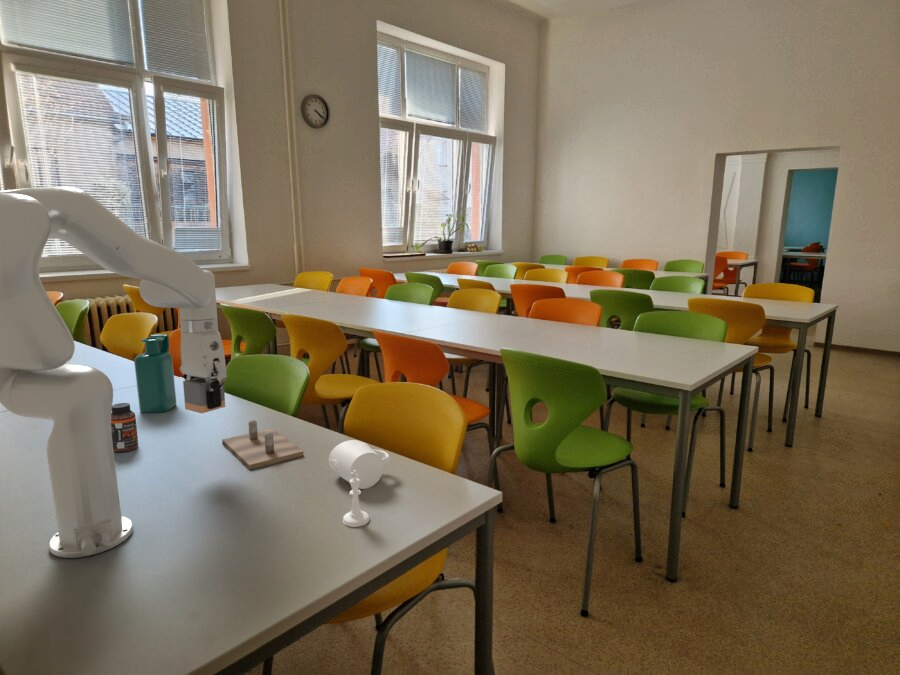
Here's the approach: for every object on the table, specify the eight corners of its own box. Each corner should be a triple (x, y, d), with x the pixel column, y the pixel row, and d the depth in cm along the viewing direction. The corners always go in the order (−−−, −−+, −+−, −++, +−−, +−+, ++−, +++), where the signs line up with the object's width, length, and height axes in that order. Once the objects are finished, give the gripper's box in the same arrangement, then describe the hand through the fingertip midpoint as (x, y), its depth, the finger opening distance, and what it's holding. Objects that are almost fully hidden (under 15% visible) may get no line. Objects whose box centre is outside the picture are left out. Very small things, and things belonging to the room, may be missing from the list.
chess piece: (357, 511, 111) (355, 462, 109) (374, 519, 108) (373, 469, 106) (337, 521, 108) (335, 471, 106) (354, 529, 105) (353, 478, 103)
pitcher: (165, 413, 170) (157, 340, 165) (137, 412, 170) (128, 340, 166) (181, 403, 179) (174, 333, 175) (154, 402, 179) (147, 333, 175)
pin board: (303, 455, 138) (302, 431, 137) (249, 469, 130) (247, 444, 129) (272, 432, 154) (270, 410, 152) (222, 443, 146) (220, 420, 144)
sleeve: (225, 406, 131) (223, 379, 129) (201, 413, 126) (199, 384, 124) (208, 402, 134) (206, 375, 133) (185, 409, 129) (183, 381, 128)
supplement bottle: (126, 454, 139) (121, 409, 137) (105, 452, 141) (100, 407, 138) (144, 444, 145) (139, 402, 143) (123, 443, 146) (118, 400, 144)
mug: (346, 494, 119) (345, 458, 117) (329, 478, 126) (327, 443, 125) (397, 480, 125) (396, 445, 124) (377, 465, 133) (377, 432, 131)
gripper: (239, 327, 125) (244, 407, 128) (190, 321, 134) (196, 395, 137) (209, 332, 119) (214, 415, 122) (160, 325, 128) (166, 403, 131)
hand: (205, 404), depth 129 cm, fingers closed on sleeve, 6 cm apart
